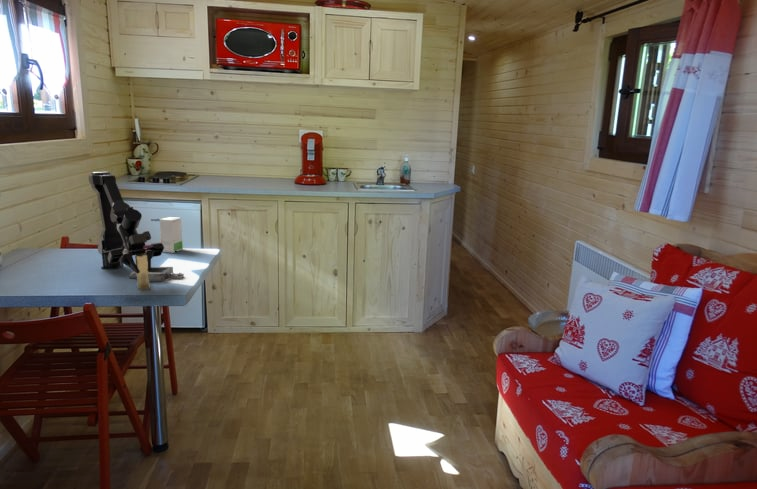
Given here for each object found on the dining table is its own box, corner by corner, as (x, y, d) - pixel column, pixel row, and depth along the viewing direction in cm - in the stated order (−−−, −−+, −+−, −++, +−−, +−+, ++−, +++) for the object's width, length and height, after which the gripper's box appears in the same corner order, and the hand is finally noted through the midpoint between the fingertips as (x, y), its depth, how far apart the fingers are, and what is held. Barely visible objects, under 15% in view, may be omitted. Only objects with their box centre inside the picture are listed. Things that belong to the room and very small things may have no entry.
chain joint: (126, 280, 197) (125, 273, 197) (136, 273, 207) (135, 266, 206) (178, 281, 198) (178, 274, 198) (186, 274, 208) (185, 267, 207)
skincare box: (173, 253, 237) (171, 220, 233) (160, 252, 238) (158, 219, 235) (183, 249, 245) (181, 217, 241) (171, 247, 246) (169, 216, 243)
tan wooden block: (136, 289, 188) (133, 256, 185) (140, 286, 192) (137, 253, 189) (147, 289, 188) (144, 257, 185) (151, 286, 192) (149, 254, 189)
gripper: (107, 227, 181) (121, 264, 176) (160, 221, 193) (174, 256, 188) (102, 245, 188) (115, 281, 183) (153, 238, 201) (167, 271, 196)
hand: (143, 271), depth 187 cm, fingers closed on tan wooden block, 4 cm apart
